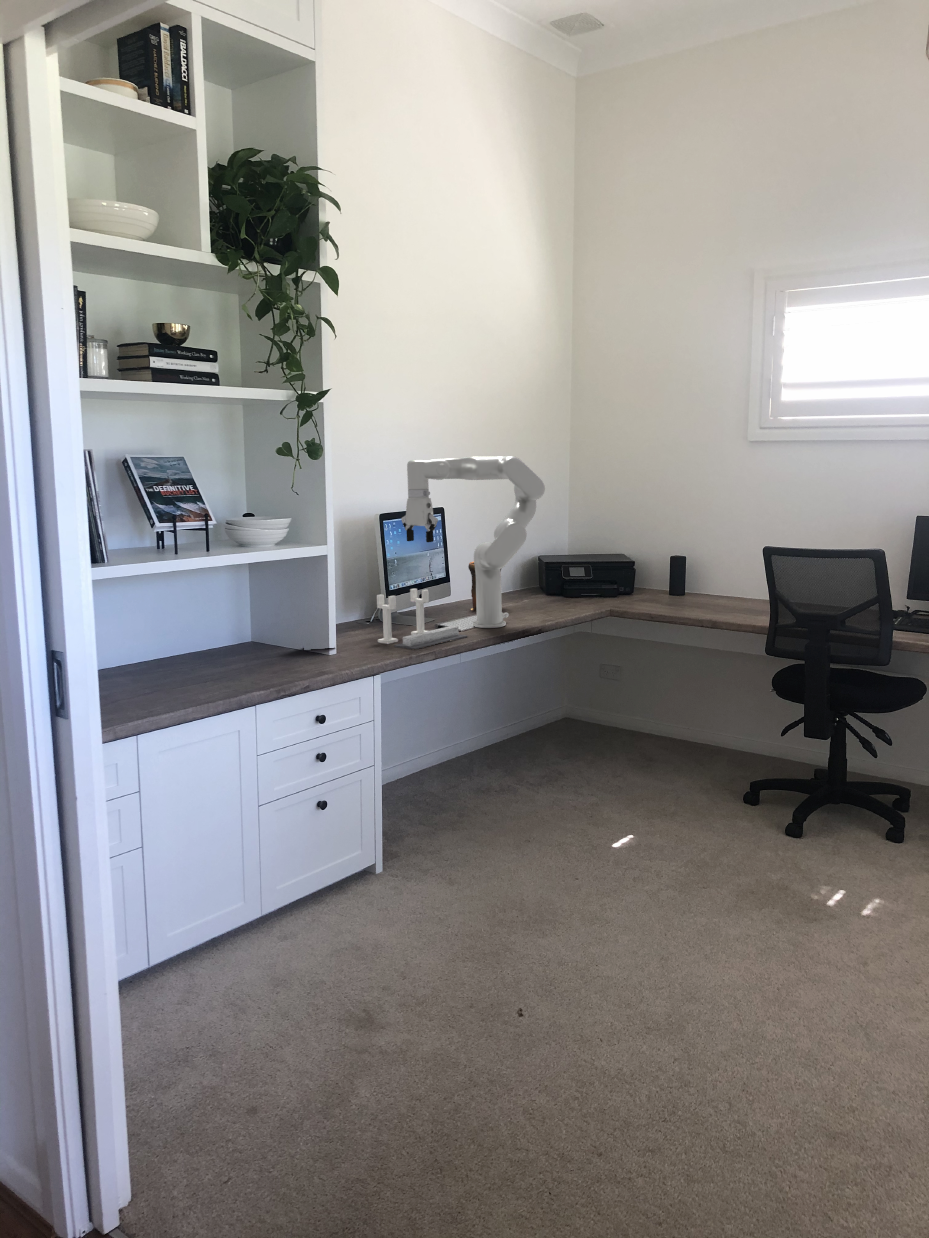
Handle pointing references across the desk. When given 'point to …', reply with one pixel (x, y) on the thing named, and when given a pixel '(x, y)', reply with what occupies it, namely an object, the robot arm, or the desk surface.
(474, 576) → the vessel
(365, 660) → the desk surface
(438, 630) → the rail
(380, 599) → the hook standards
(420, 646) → the mat
